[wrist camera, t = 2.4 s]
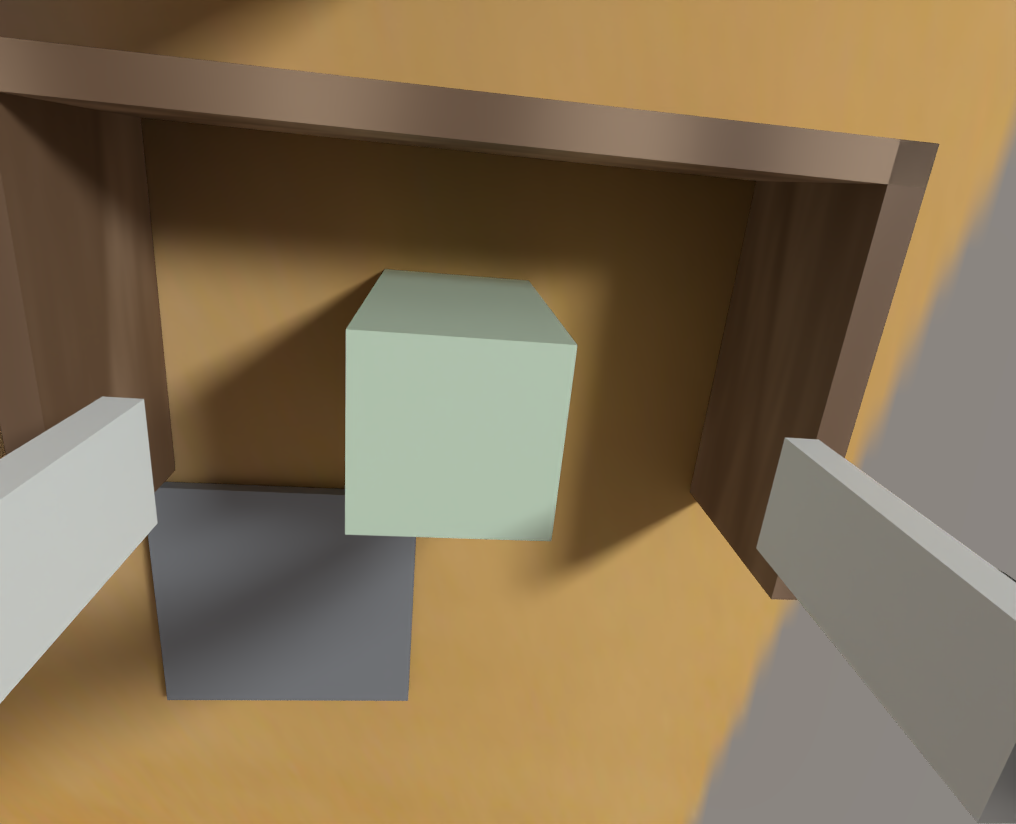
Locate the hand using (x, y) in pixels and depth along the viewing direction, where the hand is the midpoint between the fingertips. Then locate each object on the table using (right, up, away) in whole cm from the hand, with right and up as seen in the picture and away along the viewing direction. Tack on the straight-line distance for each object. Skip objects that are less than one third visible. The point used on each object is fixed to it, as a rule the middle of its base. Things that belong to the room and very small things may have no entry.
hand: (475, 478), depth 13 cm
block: (-1, +4, +10) cm, 11 cm away
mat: (-8, -6, +13) cm, 16 cm away
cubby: (-1, +5, +9) cm, 11 cm away
